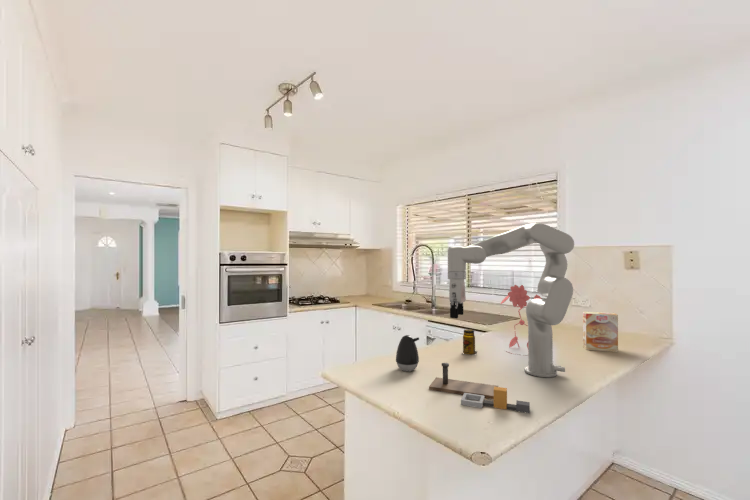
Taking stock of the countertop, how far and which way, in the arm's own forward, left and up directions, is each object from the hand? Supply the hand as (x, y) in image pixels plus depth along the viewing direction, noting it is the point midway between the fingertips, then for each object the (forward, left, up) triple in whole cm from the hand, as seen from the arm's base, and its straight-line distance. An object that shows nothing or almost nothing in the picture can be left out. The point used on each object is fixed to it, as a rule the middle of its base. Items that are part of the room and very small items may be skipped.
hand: (456, 316), depth 152 cm
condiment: (+1, -38, -25) cm, 45 cm away
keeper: (-5, +14, -25) cm, 29 cm away
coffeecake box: (-62, -72, -25) cm, 98 cm away
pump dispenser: (+22, 0, -25) cm, 33 cm away
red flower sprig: (-22, -52, -25) cm, 62 cm away
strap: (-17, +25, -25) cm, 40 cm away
